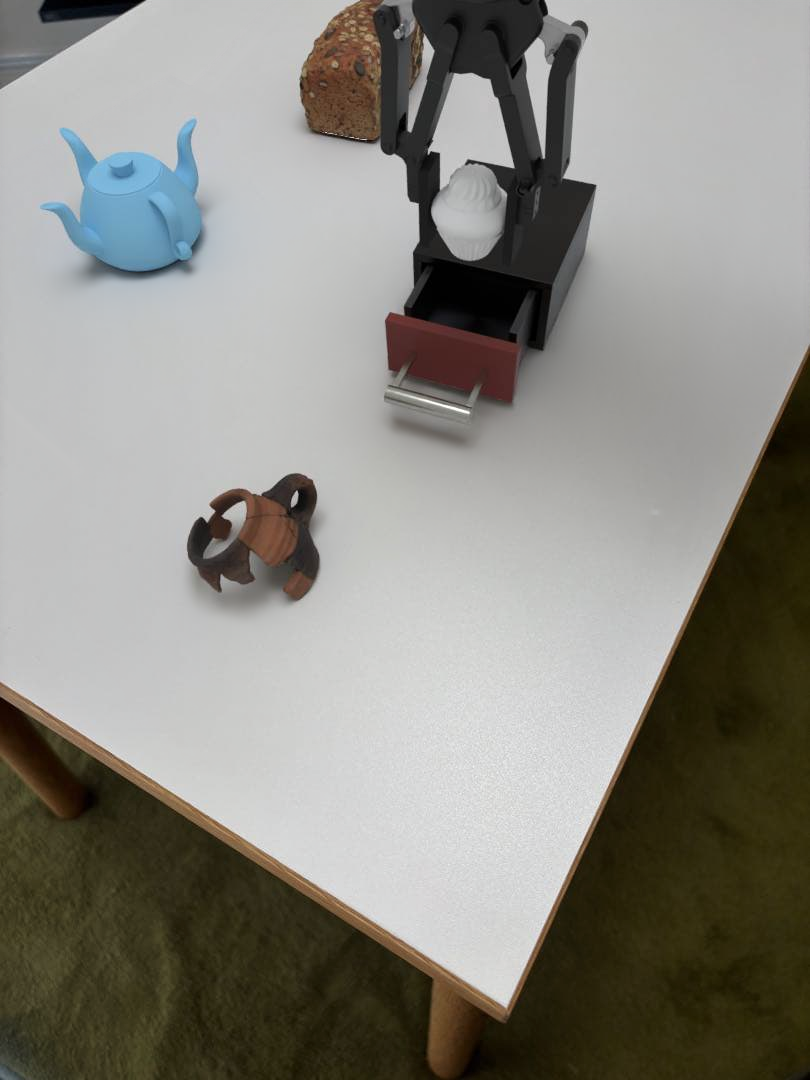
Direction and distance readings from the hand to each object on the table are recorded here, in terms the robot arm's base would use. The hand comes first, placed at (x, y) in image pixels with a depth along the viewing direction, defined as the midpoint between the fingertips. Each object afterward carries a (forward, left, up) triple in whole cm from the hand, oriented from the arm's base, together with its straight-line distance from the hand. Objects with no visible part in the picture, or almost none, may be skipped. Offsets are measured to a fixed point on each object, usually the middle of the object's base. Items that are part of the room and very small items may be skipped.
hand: (470, 245), depth 65 cm
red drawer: (+1, -3, -16) cm, 16 cm away
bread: (+29, -44, -17) cm, 55 cm away
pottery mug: (+9, +23, -17) cm, 30 cm away
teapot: (+42, -10, -17) cm, 47 cm away
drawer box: (+1, -16, -17) cm, 23 cm away
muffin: (0, 0, -1) cm, 1 cm away
